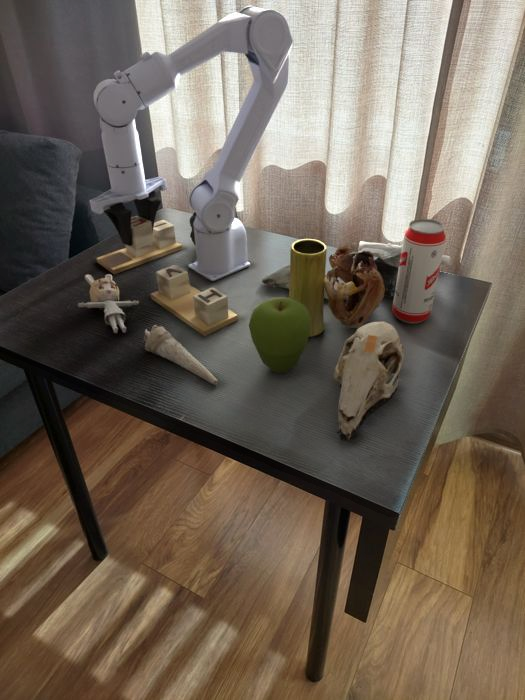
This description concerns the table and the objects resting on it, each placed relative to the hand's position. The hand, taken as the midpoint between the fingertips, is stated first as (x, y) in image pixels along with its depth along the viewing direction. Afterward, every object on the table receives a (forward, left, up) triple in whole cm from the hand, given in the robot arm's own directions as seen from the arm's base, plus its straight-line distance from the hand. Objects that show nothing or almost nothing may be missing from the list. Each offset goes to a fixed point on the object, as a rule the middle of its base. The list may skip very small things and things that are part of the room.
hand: (137, 239), depth 94 cm
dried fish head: (-20, +27, -8) cm, 34 cm away
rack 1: (-5, -10, -8) cm, 14 cm away
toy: (+10, +5, -9) cm, 14 cm away
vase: (-11, +32, -8) cm, 34 cm away
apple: (-1, +36, -9) cm, 37 cm away
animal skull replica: (-4, +49, -8) cm, 50 cm away
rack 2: (-1, +14, -8) cm, 17 cm away
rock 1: (-19, -3, -9) cm, 21 cm away
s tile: (0, 0, -1) cm, 1 cm away
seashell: (+9, +25, -9) cm, 28 cm away
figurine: (-36, +22, -5) cm, 42 cm away
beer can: (-26, +41, -9) cm, 50 cm away
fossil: (-21, +23, -8) cm, 32 cm away
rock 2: (-27, +33, -7) cm, 43 cm away
